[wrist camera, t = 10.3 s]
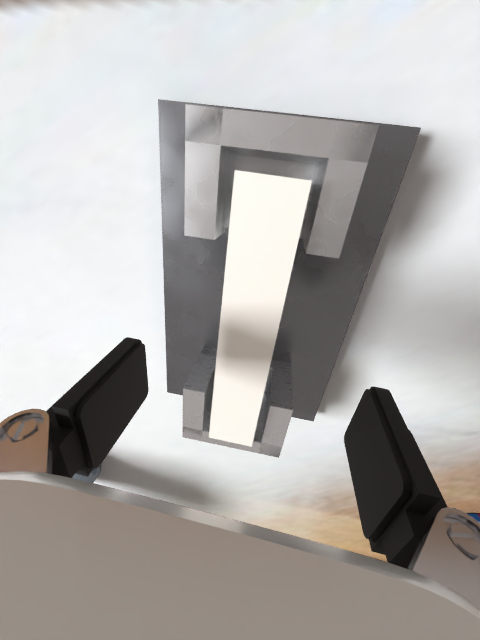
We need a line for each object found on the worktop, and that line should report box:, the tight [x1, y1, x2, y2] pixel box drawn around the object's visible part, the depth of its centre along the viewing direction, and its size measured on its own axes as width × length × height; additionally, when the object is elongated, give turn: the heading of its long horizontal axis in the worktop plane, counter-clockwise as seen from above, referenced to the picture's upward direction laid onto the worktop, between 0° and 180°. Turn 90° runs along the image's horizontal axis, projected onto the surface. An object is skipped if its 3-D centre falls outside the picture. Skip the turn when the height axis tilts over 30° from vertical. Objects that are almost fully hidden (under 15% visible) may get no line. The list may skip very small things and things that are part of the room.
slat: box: [209, 170, 312, 447], centre depth 16 cm, size 3×16×5 cm, turn 173°
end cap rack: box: [158, 99, 421, 457], centre depth 17 cm, size 14×22×6 cm, turn 173°
